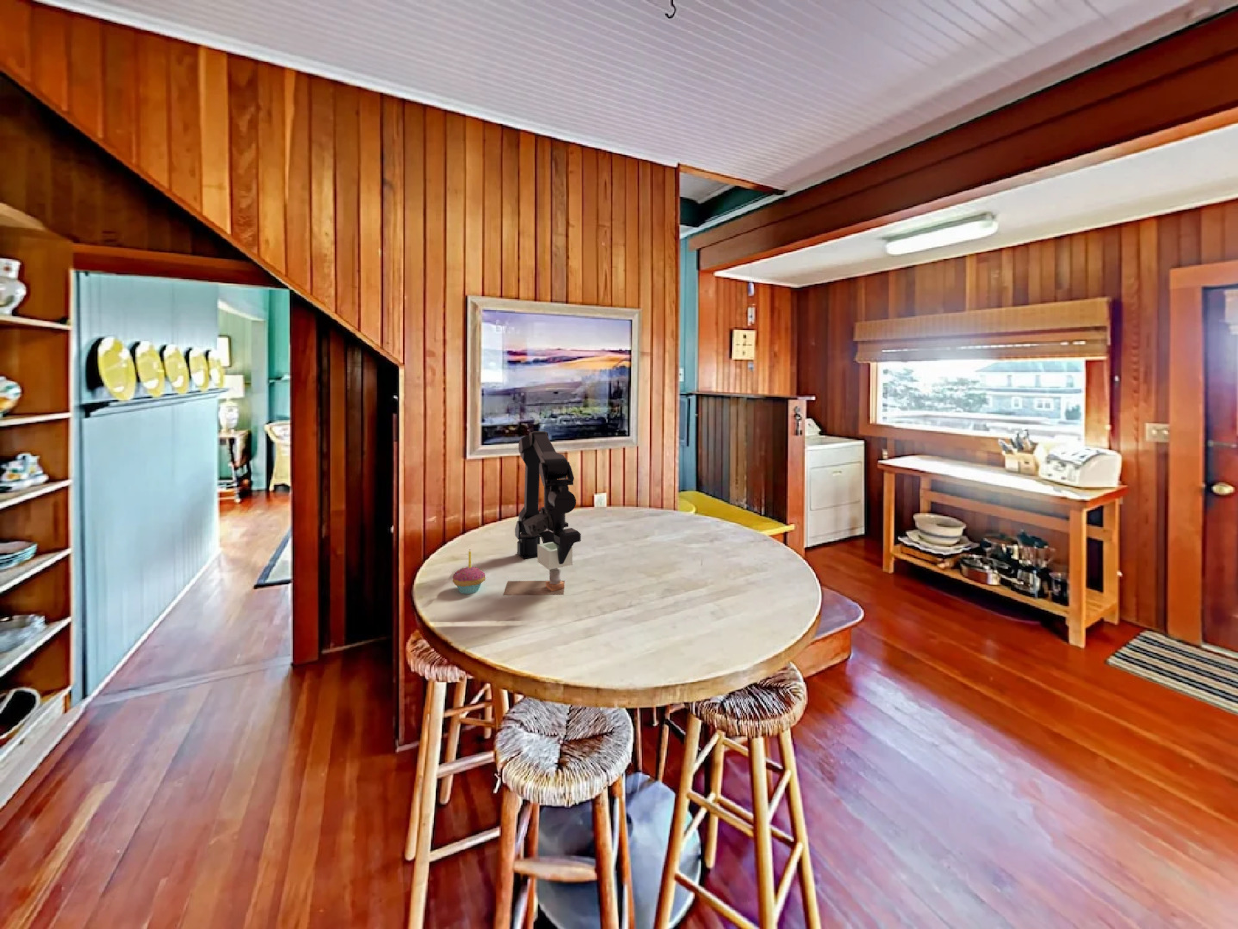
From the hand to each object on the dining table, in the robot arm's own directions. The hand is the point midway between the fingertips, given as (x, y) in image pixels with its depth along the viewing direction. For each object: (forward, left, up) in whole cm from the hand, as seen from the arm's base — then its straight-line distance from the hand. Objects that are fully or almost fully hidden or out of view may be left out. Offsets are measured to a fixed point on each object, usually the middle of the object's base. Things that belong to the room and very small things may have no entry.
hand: (554, 559), depth 153 cm
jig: (+5, -2, -9) cm, 10 cm away
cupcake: (+21, -9, -9) cm, 25 cm away
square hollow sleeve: (0, 0, -1) cm, 1 cm away
